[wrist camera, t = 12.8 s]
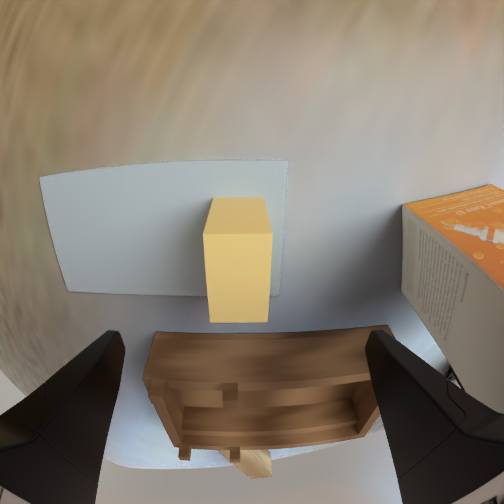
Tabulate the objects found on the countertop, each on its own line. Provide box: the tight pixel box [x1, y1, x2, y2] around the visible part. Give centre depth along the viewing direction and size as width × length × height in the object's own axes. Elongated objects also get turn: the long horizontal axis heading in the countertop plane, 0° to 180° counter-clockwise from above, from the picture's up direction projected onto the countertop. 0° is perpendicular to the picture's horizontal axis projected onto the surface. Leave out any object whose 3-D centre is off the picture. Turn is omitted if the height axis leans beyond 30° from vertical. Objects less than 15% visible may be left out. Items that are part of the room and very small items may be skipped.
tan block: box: [218, 449, 272, 479], centre depth 24 cm, size 2×11×4 cm, turn 16°
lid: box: [39, 159, 288, 323], centre depth 13 cm, size 14×8×5 cm, turn 89°
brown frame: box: [142, 325, 395, 462], centre depth 18 cm, size 16×10×5 cm, turn 89°
